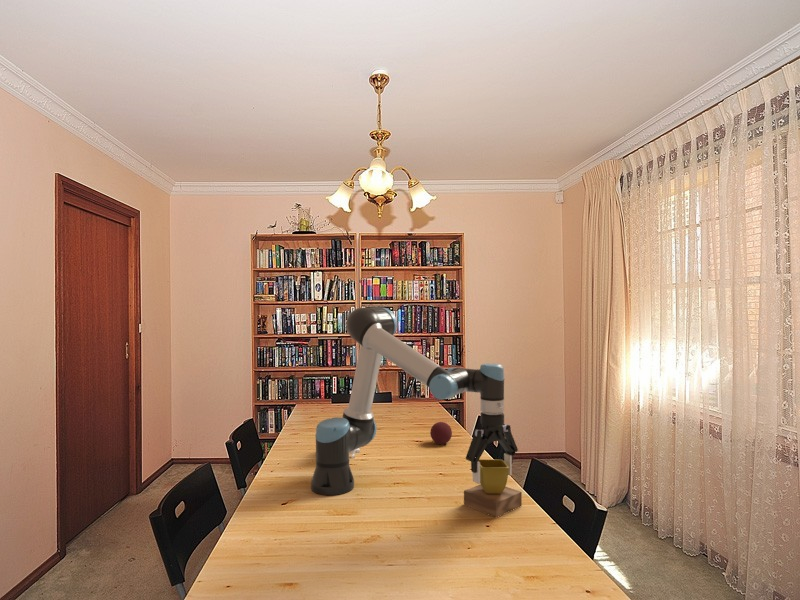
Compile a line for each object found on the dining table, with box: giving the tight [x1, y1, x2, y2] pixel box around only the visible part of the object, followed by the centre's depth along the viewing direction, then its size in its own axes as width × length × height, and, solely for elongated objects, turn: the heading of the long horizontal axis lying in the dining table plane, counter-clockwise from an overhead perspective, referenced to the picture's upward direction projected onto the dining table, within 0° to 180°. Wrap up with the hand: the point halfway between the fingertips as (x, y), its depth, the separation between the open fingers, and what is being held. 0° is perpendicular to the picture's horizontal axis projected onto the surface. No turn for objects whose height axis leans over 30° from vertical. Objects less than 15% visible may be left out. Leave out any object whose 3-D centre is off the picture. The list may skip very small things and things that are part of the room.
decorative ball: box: [429, 421, 453, 445], centre depth 230 cm, size 10×10×10 cm
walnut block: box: [463, 484, 523, 518], centre depth 160 cm, size 13×13×5 cm
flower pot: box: [478, 458, 509, 494], centre depth 160 cm, size 9×9×9 cm
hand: (492, 478), depth 160 cm, fingers open, 13 cm apart
